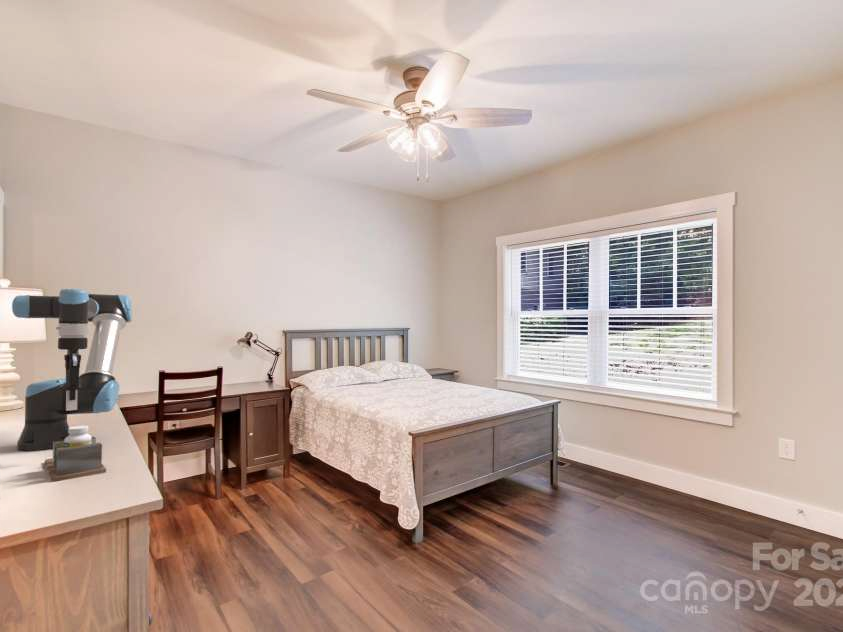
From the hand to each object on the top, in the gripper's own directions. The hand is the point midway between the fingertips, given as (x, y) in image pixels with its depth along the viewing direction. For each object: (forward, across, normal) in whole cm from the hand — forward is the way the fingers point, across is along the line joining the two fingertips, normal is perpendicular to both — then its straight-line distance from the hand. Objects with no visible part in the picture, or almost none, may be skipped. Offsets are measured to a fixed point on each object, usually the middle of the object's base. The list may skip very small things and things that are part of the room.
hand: (71, 409), depth 143 cm
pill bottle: (+14, +17, 0) cm, 22 cm away
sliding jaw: (+14, +10, 0) cm, 18 cm away
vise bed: (+15, +13, 0) cm, 20 cm away
